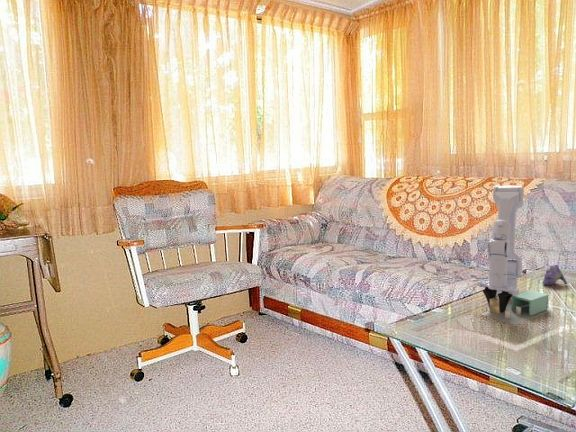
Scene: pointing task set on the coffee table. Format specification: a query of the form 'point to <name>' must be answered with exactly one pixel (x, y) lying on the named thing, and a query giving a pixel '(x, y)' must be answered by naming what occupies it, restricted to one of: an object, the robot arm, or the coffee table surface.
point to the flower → (553, 275)
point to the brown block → (495, 305)
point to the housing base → (514, 315)
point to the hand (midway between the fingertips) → (497, 310)
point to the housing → (530, 301)
